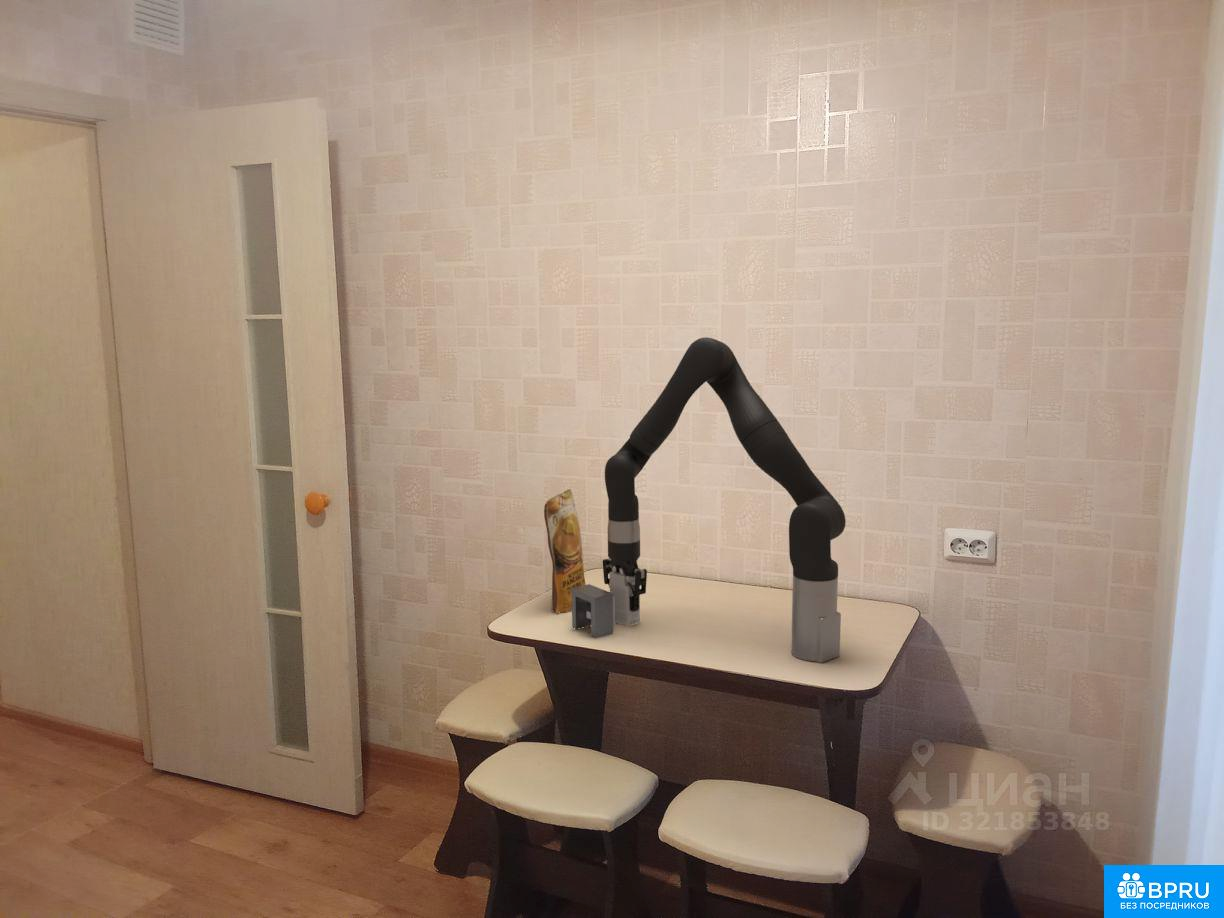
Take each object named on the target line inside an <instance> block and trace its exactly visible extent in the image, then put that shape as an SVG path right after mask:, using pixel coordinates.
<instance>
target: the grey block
mask: <svg viewBox="0 0 1224 918" xmlns="http://www.w3.org/2000/svg"><path fill="white" fill-rule="evenodd" d="M586 615H587V618H589V619H591V610H588V611H586ZM614 627H616V623H615V597H614V596H613V628H614Z"/></svg>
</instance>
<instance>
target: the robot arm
mask: <svg viewBox="0 0 1224 918" xmlns="http://www.w3.org/2000/svg"><path fill="white" fill-rule="evenodd" d="M678 363H679V364H678V365H677V367H676V369H675V370H674V372H673V374H672V375H671V377H670V379H669V381H668V382H667V384H666V385H665V386H664V389H662V391H661V393H660V394H659V396H658V397H657V399H656V400H655V401H654V403H653V405H651V406H650V408H649V410H648V411H647V412H646V413H645V415H643V417H642V419H641V420H640V421H639V422H638V424H636V426H635V427H634V429H632V432H631V433H630V435H629V438H628V439H627V440H626V442H625V443H623V445H622V446H621V448H620V449H619V450H618V451H617V452H616V453H615V454H614V455H612V456H611V457H610V458H608V460H607V462H606V463H605V466H604V483H605V490H606V494H607V498H608V499H607V500H608V503H607V507H608V509H607V513H608V516H607V517H608V522H607V558H605V559H602V571H603V582H604V585H608V588H609V589H610V577H609V575H610V574H609V573H610V572H614V573H620V574H621V576H624V578H625V579H624V584H625V587H627V586H628V587H629V594H630V596H629V599H630V611H632V612H634V611H638V609H639V596H642V595H644V594H646V593H647V581H648V580H647V579H648V575H647V574H648V571H647V569H646V568H643V569H641V568H639V566H638V560H639V558H640V557H641V528H640V527H641V526H640V519H639V518H640V516H639V515H640V513H639V511H640V506H639V504H640V503H639V498H638V496H637V495H636V488H635V487H636V486H635V480H636V477H637V476H638V475H639V474H640V472H641V471H642V470H643V469H644V467H645V465H646V464H647V463H648V461H649V459H651V457H652V455H654V453H656V452H657V450H658V449H660V447H661V446H662V445H663V443H664V442H665V441H666V440H667V438H668V437H669V436H670V434H671V433H672V432H673V430H674V428H675V427H676V425H677V423H678V422H679V420H680V417H681V416H682V413H683V410H684V409H685V406H686V405H687V403H688V402H689V400H690V399H691V398H692V396H693V395H694V394H695V392H696V391H698V390H699V389H700V388H701V386H702V385H705V383H707V385H709V386H710V388H712V389H713V391H714V392H715V394H716V395H717V396H718V397H719V399H720V400H721V402H722V403H723V405H724V407H725V409H726V411H727V414H728V416H729V419H730V423H731V426H732V428H733V430H734V433H735V436H736V437H737V440H738V441H739V442H740V443H739V444H741V446H742V447H743V448H744V450H745V451H746V453H747V454H748V456H749V458H750V459H751V460H752V461H753V463H754V464H755V465H756V466H757V467H759V469H760V470H761V471H763V472H764V473H765V474H766V475H768V476H769V477H771V478H772V480H774V481H776V483H778V484H779V485H780V486H782V487H783V488H784V489H785V490H786V492H787V493H788V494H789V495H790V497H791V498H792V500H793V501H794V503H795V505H796V506H795V508H794V509H793V510H792V512H791V514H790V518H789V522H788V523H789V524H788V546H789V547H788V548H789V549H788V550H789V551H788V552H789V553H788V554H789V560H790V564H791V567H792V590H791V591H792V596H791V597H792V598H791V599H792V601H791V648H790V649H791V655H793V656H795V657H796V658H798V659H800V660H804V661H811V662H818V663H821V664H822V663H824V662H827V661H830V660H832V659H836V658H837V657H840V655H841V652H840V651H841V625H842V623H841V621H842V619H841V618H842V617H841V616H842V614H841V613H840V612H839V611H838V590H839V589H838V585H839V564H838V563H837V562H836V561H835V560H834V559H832V552H831V551H832V550H831V549H832V548H831V547H832V546H831V542H832V540H834V539H836V538H838V537H839V536H841V535H842V534H843V532H844V530H845V528H846V521H847V520H846V516H845V512H844V510H843V508H842V506H841V505H840V503H839V502H838V501H837V500H836V498H835V497H834V496H833V495H832V494H831V492H830V491H829V490H828V489H827V488H826V486H825V484H823V483H822V482H821V481H820V480H819V478H818V477H817V475H815V473H814V472H813V471H812V469H811V467H810V466H809V465H808V463H807V462H806V460H805V459H804V457H803V456H802V454H801V453H800V452H799V450H798V449H797V447H796V446H795V445H794V443H793V442H792V440H791V438H790V436H789V435H788V434H787V432H786V430H785V428H783V426H782V424H781V423H780V422H779V420H778V419H777V417H776V416H775V415H774V413H773V412H772V411H771V409H770V408H769V407H768V405H767V404H766V402H765V401H764V400H763V399H762V398H761V396H760V395H759V394H758V393H757V391H755V389H754V388H753V386H752V385H751V383H750V382H749V380H748V378H747V376H746V374H745V373H744V370H743V369H742V367H741V365H740V363H739V361H738V360H737V358H736V356H735V353H734V351H732V349H731V347H729V346H728V345H727V343H724V342H722V341H720V340H718V339H715V338H712V337H706V336H705V337H700V338H698V339H696V340H694V341H693V342H691V344H689V347H688V348H687V350H686V351H685V353H684V354H683V356H682V358H681V360H680V361H679V362H678ZM627 576H629V577H631V576H633V577H635V581H634V582H628V581H627V578H626V577H627ZM625 581H626V582H625ZM633 585H634V586H635V590H634V591H633V588H632V586H633Z"/></svg>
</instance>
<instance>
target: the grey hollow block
mask: <svg viewBox="0 0 1224 918" xmlns="http://www.w3.org/2000/svg"><path fill="white" fill-rule="evenodd" d="M588 610H591V619H589V618H587V615H586V611H588ZM571 623H572V624H571V625H572V626H571V627H573V628H572V629H574V628H575V629H574V630H576V629H577V630H579V629H578V628H581V629H583V628H582V627H584V628H588V627H590V625H591V629H590V630H591V638H593V639H595V640H596V639H600V638H603V637H607V636H610V635H614V627H613V593H610V591H609V590H605V589H603V588H600V587H598V586H595V585H592V584H589V583H588V584H586V585H584V586H579V587H575V588H572V610H571ZM587 626H588V627H587Z"/></svg>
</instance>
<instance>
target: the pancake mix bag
mask: <svg viewBox="0 0 1224 918" xmlns="http://www.w3.org/2000/svg"><path fill="white" fill-rule="evenodd" d="M574 501H575V500H574V497H573V492H572V489H567V490H564V491H562V492H561V493H559V494H557V495H555V496H554V497H551V498H550V499H548V500H547V501H546V502H545V504H544V506H543V507H544V508H543V509H544V510H543V514H544V516H543V517H544V522H545V527H546V533H547V545H548V546H547V547H548V551H549V554H550V557H551V563H552V574H551V575H552V576H551V580H552V581H551V586H552V587H551V588H552V589H551V591H552V594H551V595H552V596H551V597H552V598H551V611H552V610H553V611H554V612H553V611H552V612H553V614H555V613H556V614H555V615H558V614H560V613H559V612H563V613H568V612H570V611H572V610H571V609H572V588H575V587H579V586H584V585H587V584H586V578H585V569H584V559H583V558H584V557H583V555H584V554H583V546H582V545H583V544H582V543H583V542H582V537H581V529H580V521H579V517H578V512H577V508H576V505H575V502H574ZM569 610H570V611H569ZM567 611H568V612H567ZM557 613H558V614H557Z"/></svg>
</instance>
